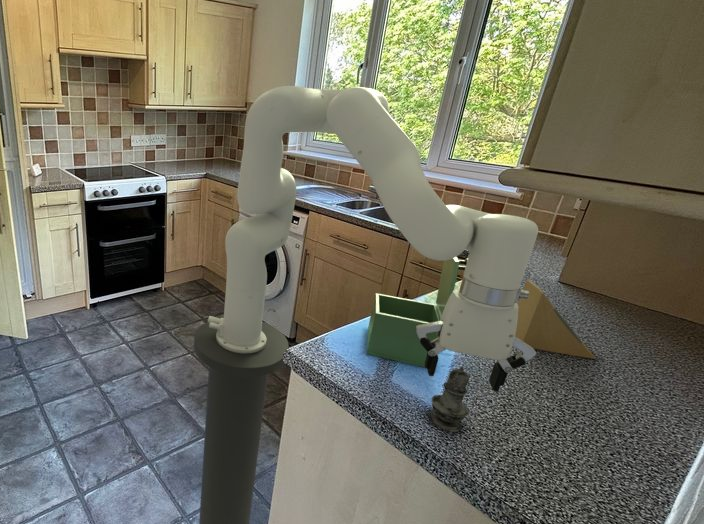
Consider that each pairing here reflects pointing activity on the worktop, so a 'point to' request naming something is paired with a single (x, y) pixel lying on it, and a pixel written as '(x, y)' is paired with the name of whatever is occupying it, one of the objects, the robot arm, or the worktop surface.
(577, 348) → the sandwich container
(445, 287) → the bin lid
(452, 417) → the dark grey rounded piece
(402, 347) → the waste bin
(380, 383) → the worktop surface
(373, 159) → the robot arm
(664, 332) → the worktop surface
